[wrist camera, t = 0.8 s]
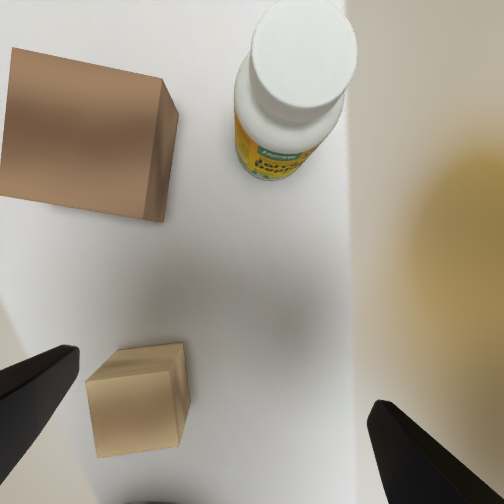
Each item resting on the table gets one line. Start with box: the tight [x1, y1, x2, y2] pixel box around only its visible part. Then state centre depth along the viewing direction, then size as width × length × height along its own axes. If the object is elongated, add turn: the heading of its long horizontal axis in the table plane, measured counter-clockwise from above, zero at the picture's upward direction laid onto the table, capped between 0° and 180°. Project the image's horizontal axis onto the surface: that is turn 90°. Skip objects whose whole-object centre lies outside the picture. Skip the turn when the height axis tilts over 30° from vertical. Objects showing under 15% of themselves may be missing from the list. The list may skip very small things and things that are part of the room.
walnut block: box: [0, 47, 179, 222], centre depth 16 cm, size 8×8×4 cm
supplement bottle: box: [234, 0, 358, 180], centre depth 14 cm, size 5×5×10 cm
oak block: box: [85, 342, 191, 458], centre depth 17 cm, size 5×5×4 cm
